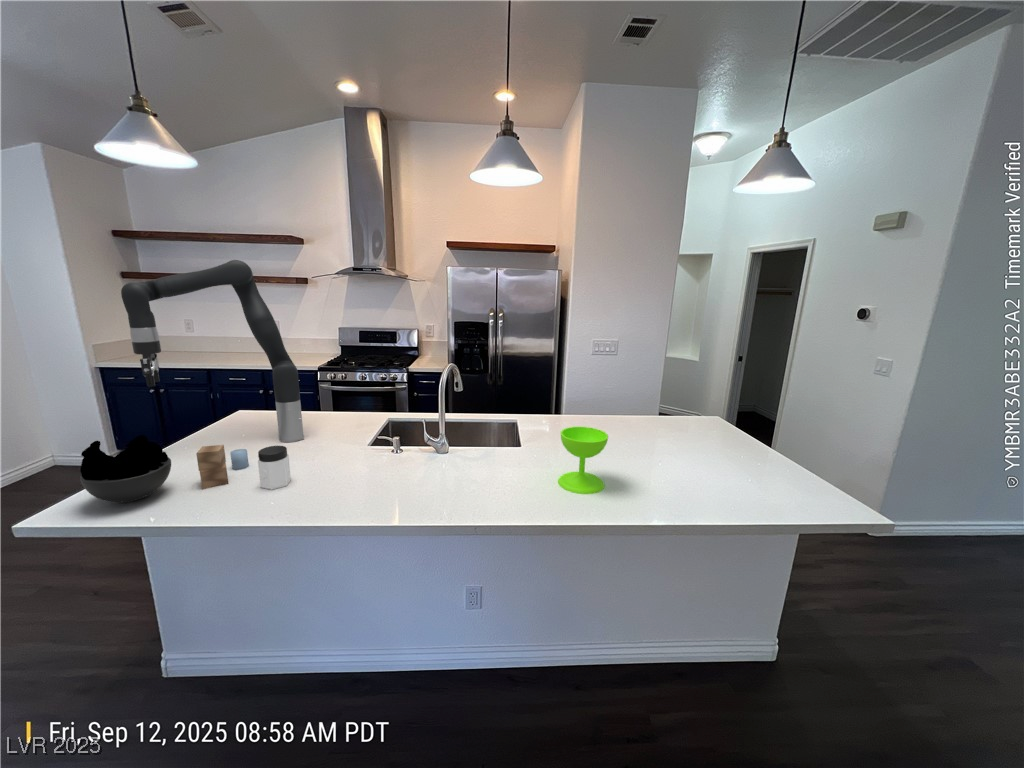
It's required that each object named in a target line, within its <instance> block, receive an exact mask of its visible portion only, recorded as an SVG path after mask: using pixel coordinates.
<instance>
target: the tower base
mask: <svg viewBox="0 0 1024 768" xmlns="http://www.w3.org/2000/svg"><path fill="white" fill-rule="evenodd" d="M226 462H227V461H226ZM226 462H225V463H224V465H223V466H222V468H220V469H211V470H202V471H199V475H200V476H199V477H200V484H201V490H206V489H211V488H216V487H220V486H225V485H229V477H228V471H227V470H228V469H227V463H226Z"/></svg>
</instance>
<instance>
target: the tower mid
mask: <svg viewBox="0 0 1024 768" xmlns="http://www.w3.org/2000/svg"><path fill="white" fill-rule="evenodd" d="M196 459H197V461H196V462H197V467H198V471H199V472H200V471H202V470H211V469H220V468H222V466H223V465H224V463H225V462H227V460H226V459H227V458H226V451H225V445H224V444H215V445H205V446H201V447H200V448H199V450H197V452H196Z"/></svg>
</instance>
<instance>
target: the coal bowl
mask: <svg viewBox="0 0 1024 768" xmlns="http://www.w3.org/2000/svg"><path fill="white" fill-rule="evenodd" d="M125 447H126V448H124V449H123V450H120V451H119V452H118V453H117V454H116V455H115V456H114V455H109V454H107V453H106V452H105V451H103V450H101V441H100V440H94V441H93V442H91V443H90V445H89V446H87V447H86V448H85V449H84V450H82V452H81V454H80V456H81V457H83V459H81V465H80V474H81V475H80V476H79V481H80V483H81V485H82V487H83V488H84V489H85V491H87V492H88V493H89V494H90V495H91V496H93V497H94V498H97V500H101V501H104V502H110V503H119V504H120V503H130V502H134V501H138V500H141V499H143V498H146V497H148V496H150V495H151V494H153V493H154V492H156V491H157V490H158V489H160V488H161V487H162V486H163V484H164V483H165V482H166V480H167V479H168V478H169V475H170V474H171V473H170V472H171V468H172V459H171V458H170V457H169V456H168V454H167V451H164V450H163V448H162V447H161V445H160V444H158V443H157V442H156V443H155V442H153V441H150V440H149V439H148V436H146V435H143V434H142V435H138V436H136V437H135V438H134V439H132V440H130V441H129V443H127V444H126V445H125Z"/></svg>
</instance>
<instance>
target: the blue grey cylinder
mask: <svg viewBox="0 0 1024 768" xmlns="http://www.w3.org/2000/svg"><path fill="white" fill-rule="evenodd" d="M230 460H231V467H232V470H234V471H239V470H245V469H247V468H249V467H250V465H249V464H250V463H249V458H248V450H247V449H246V448H239V449H237V448H236V449H234V450H231V451H230Z"/></svg>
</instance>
